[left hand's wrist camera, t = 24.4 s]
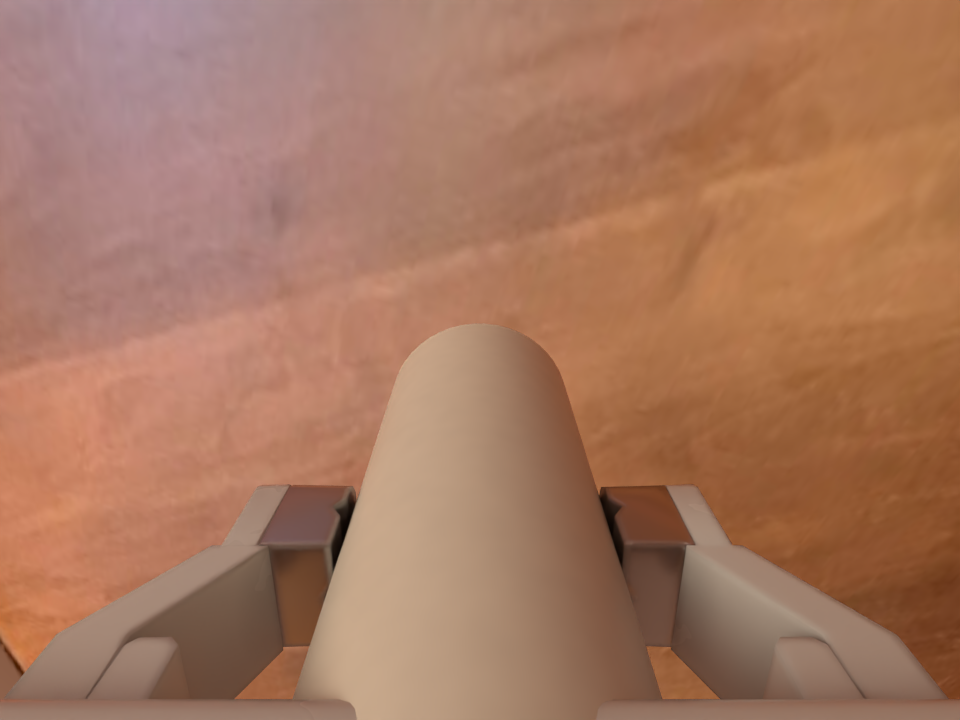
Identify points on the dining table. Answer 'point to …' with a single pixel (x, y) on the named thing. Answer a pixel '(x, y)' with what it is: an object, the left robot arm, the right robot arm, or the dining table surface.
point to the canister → (478, 553)
